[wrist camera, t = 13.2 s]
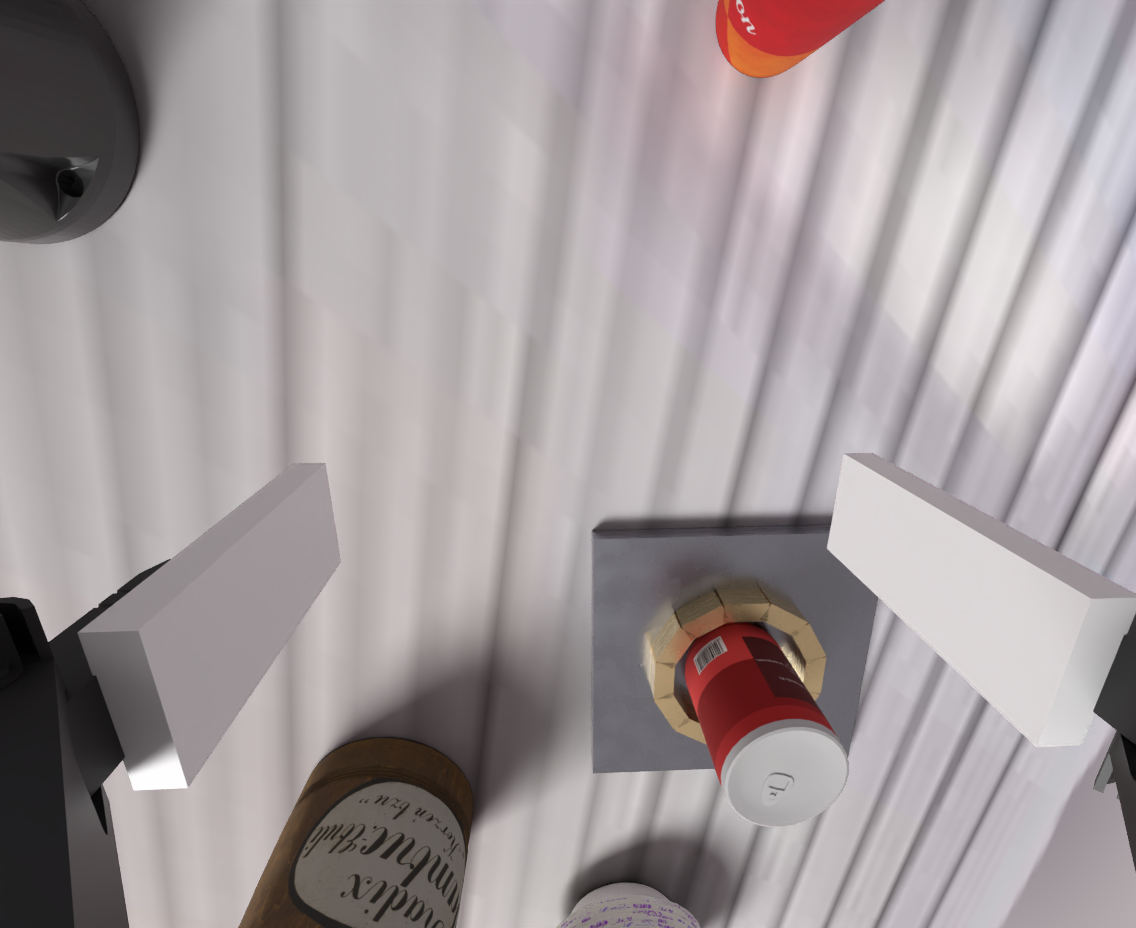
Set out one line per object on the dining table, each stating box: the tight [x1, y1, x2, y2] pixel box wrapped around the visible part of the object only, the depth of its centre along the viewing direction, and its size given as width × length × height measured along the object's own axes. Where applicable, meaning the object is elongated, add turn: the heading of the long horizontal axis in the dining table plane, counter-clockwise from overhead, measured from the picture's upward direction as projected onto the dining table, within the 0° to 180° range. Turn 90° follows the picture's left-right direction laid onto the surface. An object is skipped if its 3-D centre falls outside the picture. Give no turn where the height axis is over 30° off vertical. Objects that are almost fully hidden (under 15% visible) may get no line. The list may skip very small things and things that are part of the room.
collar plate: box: [592, 525, 878, 773], centre depth 43 cm, size 22×22×4 cm
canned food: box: [685, 622, 849, 827], centre depth 38 cm, size 8×8×11 cm
